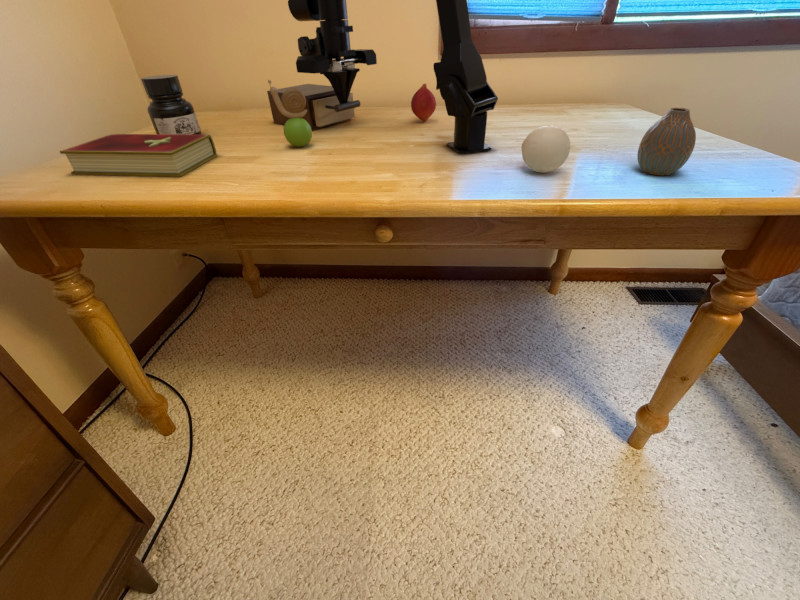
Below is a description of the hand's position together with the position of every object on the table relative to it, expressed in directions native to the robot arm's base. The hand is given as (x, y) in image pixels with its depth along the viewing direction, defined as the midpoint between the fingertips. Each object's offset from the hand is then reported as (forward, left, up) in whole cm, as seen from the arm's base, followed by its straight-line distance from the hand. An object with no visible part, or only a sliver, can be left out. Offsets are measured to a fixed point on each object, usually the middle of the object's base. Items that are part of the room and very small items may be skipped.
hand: (343, 105), depth 87 cm
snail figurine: (-13, +12, -5) cm, 18 cm away
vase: (-50, -39, -5) cm, 64 cm away
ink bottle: (+6, +37, -5) cm, 37 cm away
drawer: (+6, +4, -4) cm, 8 cm away
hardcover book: (-13, +40, -5) cm, 42 cm away
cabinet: (+10, +7, -5) cm, 13 cm away
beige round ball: (-43, -23, -5) cm, 50 cm away
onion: (-2, -18, -5) cm, 19 cm away
